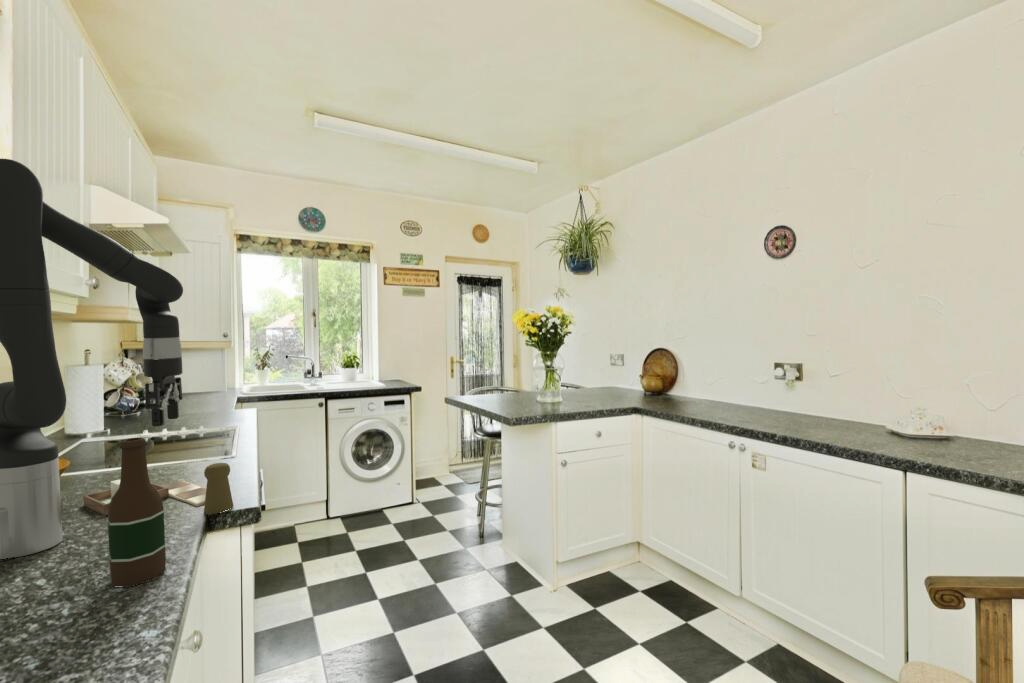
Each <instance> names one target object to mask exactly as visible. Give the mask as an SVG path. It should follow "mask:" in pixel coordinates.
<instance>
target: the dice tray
mask: <svg viewBox="0 0 1024 683" xmlns="http://www.w3.org/2000/svg"><path fill="white" fill-rule="evenodd" d="M150 484H151V485H152V486H153V487H154V488H155V489H156V490H157V491H158V493H159V495H160V497H161V499H162V500H165V499H169V498H170V496H169V490H168V488H167V487H164V486H163V485H161V484H158V483H155V482H151V481H150ZM82 497H83V506H84V507H86V508H88V509H90V510H92V511H94V512H96V513H99V514H100V515H102V516H108V507H109V504H110V502H111V488H109V489H105V490H102V491H97V492H94V493H89V494H85V495H83V496H82Z"/></svg>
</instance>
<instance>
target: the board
mask: <svg viewBox="0 0 1024 683" xmlns="http://www.w3.org/2000/svg"><path fill="white" fill-rule="evenodd" d="M162 486H164V487H167V488H168V490H169V498H173V499H175V500H178V501H181V502H183V503H184V502H185V503H187V504H189V505H192V506H195V507H200V506H203V505H204V506H205V497H206V488H207V487H203V486H200V485H197V484H193V483H191V482H187V481H184V480H179V481H174V482H170V483H167V484H164V485H162Z"/></svg>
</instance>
